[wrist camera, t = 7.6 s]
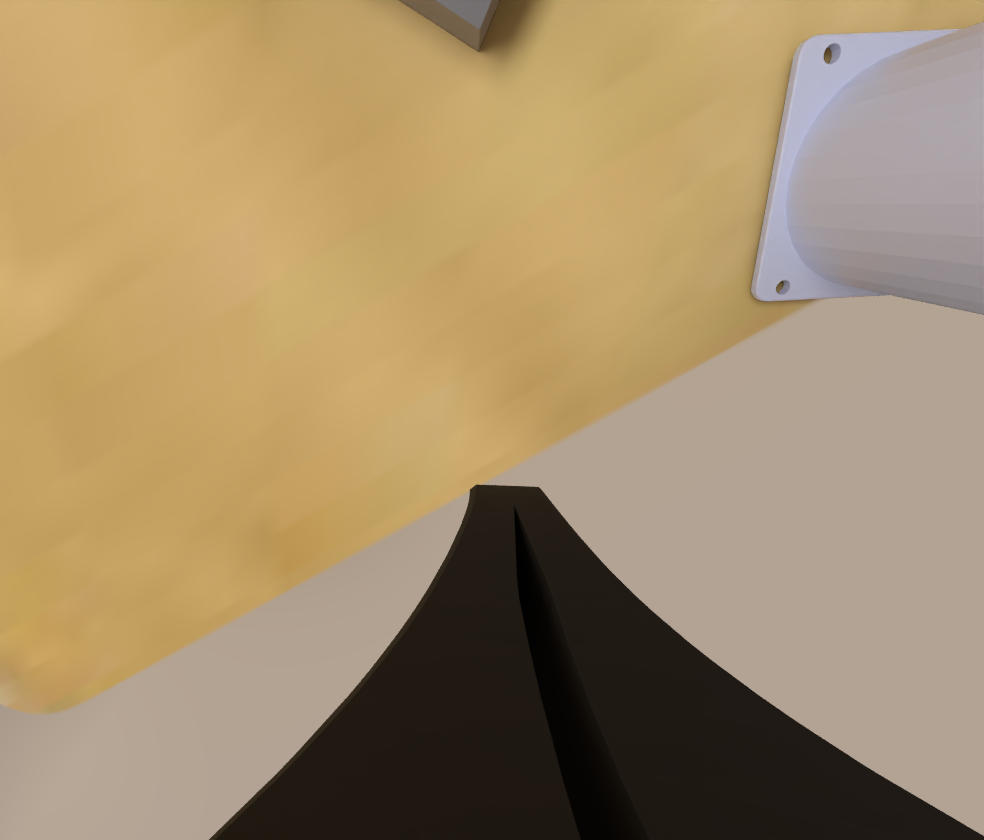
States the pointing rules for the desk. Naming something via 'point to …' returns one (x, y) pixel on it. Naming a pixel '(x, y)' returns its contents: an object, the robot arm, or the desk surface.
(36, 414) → the desk surface
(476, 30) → the button panel
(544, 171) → the desk surface
